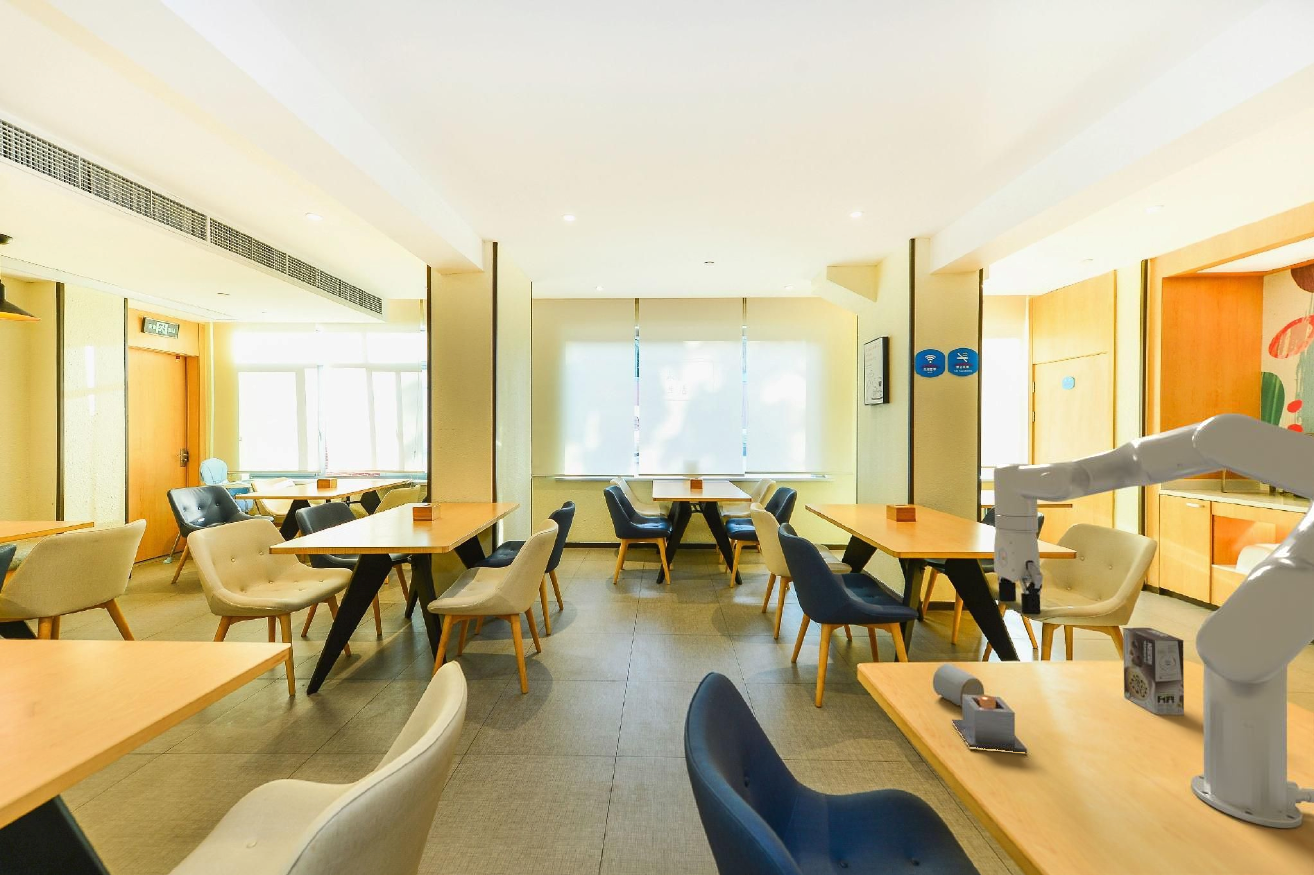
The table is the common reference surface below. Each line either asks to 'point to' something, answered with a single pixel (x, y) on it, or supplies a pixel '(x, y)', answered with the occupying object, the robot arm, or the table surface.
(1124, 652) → the coffee box
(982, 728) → the grey square open box
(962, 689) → the ceramic mug
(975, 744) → the post
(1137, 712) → the table surface
